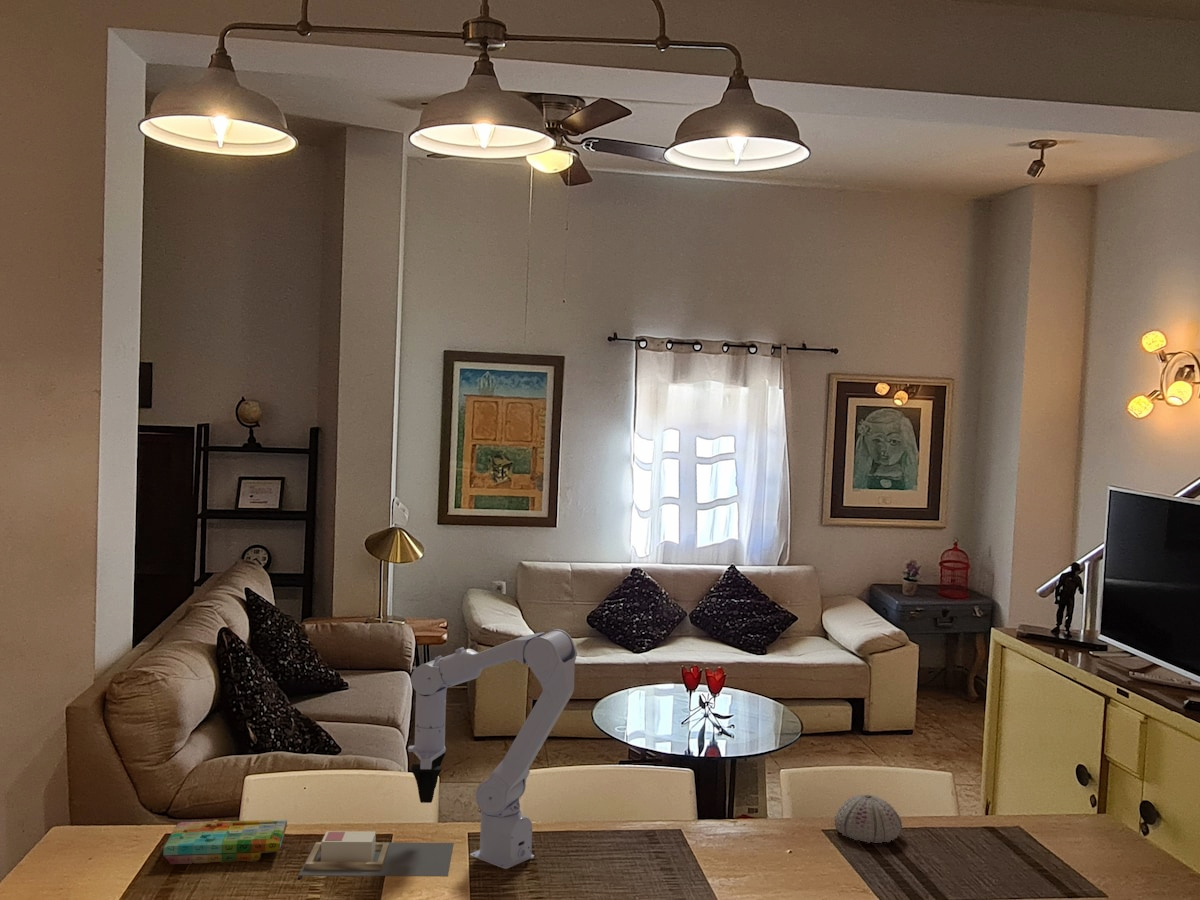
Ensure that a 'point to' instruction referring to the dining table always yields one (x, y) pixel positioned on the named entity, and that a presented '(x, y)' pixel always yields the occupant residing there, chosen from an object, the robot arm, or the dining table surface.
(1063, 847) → the dining table surface
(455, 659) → the robot arm
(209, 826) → the puzzle game
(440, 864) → the mat
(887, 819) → the sea urchin shell
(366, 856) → the card box
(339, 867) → the frame
